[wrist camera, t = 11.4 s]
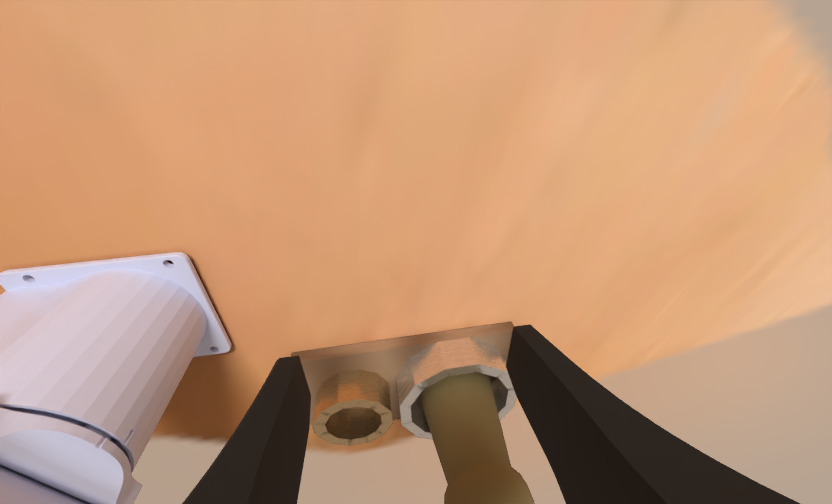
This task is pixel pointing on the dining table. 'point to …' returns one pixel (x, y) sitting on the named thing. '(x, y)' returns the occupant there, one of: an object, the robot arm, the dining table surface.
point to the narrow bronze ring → (353, 423)
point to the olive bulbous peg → (471, 442)
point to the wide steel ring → (450, 362)
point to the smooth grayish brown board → (389, 357)
